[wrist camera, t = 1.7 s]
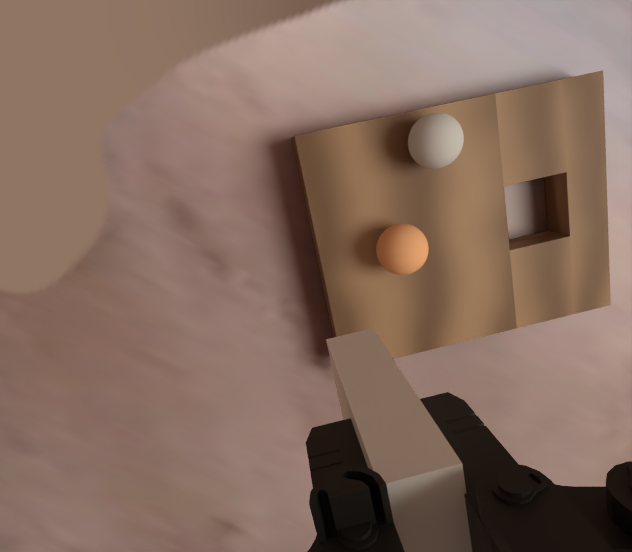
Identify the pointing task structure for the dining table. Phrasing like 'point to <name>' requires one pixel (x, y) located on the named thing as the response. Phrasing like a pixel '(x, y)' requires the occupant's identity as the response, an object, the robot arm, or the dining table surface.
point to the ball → (402, 249)
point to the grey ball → (435, 140)
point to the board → (463, 217)
